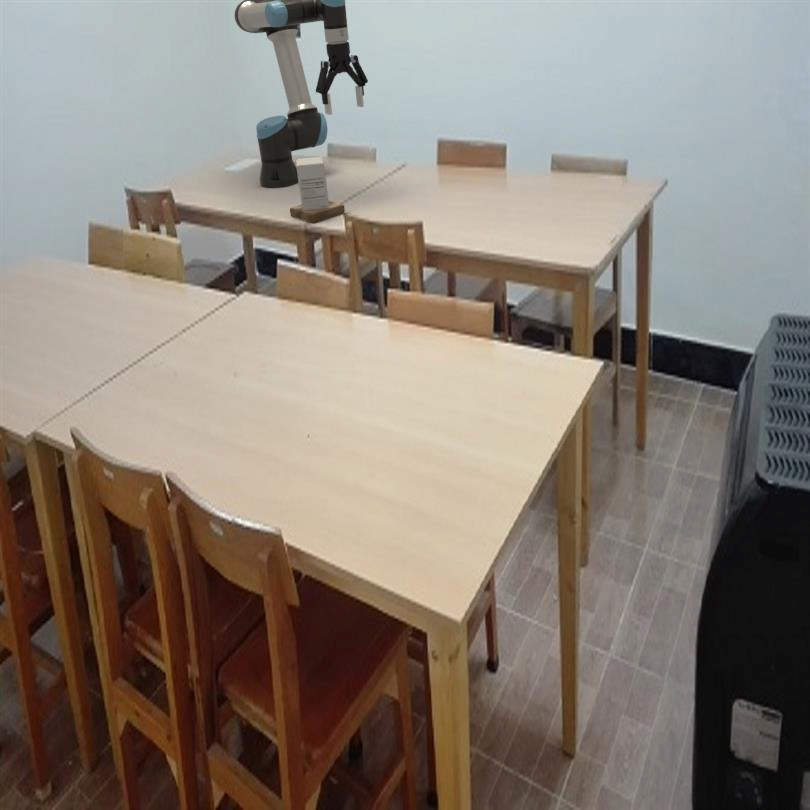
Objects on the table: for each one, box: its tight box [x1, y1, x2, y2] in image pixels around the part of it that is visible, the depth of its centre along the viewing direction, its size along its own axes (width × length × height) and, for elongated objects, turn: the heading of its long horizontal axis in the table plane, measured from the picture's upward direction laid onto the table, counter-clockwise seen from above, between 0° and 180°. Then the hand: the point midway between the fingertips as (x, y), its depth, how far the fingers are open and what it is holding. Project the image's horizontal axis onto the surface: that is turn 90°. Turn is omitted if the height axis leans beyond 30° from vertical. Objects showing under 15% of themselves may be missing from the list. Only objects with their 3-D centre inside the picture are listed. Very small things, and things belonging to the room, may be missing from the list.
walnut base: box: [289, 200, 346, 224], centre depth 272 cm, size 13×13×3 cm
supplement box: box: [295, 156, 330, 211], centre depth 267 cm, size 9×9×15 cm
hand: (344, 110), depth 275 cm, fingers open, 13 cm apart
